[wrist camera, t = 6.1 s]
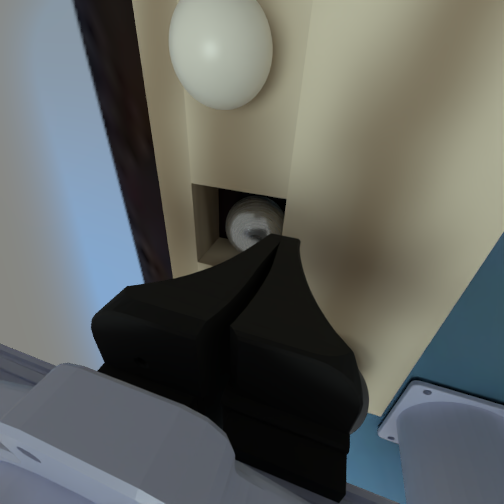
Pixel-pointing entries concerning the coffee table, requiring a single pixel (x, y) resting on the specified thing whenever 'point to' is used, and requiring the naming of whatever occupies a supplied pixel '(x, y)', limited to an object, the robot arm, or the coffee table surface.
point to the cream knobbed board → (350, 160)
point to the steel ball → (253, 221)
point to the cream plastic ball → (221, 50)
